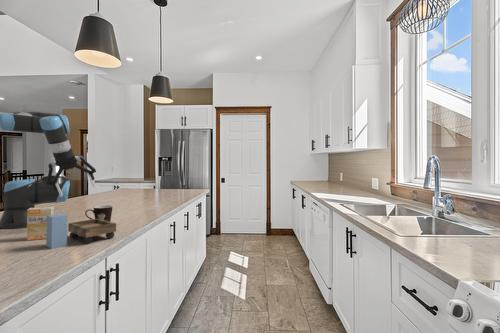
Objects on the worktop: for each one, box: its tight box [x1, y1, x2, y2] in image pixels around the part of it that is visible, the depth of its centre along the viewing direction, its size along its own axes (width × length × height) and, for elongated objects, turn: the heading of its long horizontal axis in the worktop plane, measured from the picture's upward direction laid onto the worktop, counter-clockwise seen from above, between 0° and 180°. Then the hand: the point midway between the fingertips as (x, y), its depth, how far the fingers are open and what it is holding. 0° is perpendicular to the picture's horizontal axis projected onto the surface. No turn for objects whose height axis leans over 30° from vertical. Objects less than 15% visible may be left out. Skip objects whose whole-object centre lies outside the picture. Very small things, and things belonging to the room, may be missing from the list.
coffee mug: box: [84, 204, 113, 222], centre depth 132 cm, size 12×9×10 cm
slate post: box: [46, 213, 68, 250], centre depth 100 cm, size 5×5×12 cm
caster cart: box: [67, 218, 117, 245], centre depth 110 cm, size 16×12×6 cm
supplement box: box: [26, 206, 55, 241], centre depth 109 cm, size 8×5×13 cm, turn 117°
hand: (78, 190), depth 126 cm, fingers open, 13 cm apart
